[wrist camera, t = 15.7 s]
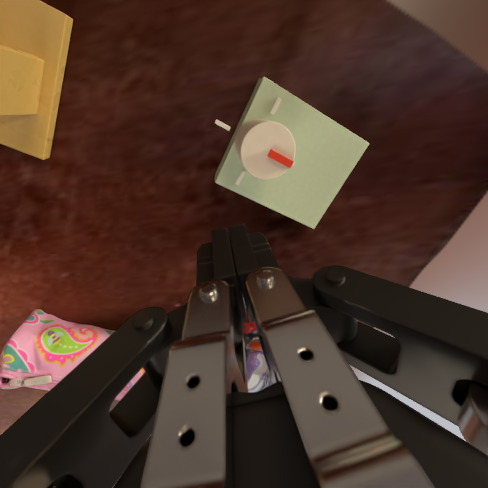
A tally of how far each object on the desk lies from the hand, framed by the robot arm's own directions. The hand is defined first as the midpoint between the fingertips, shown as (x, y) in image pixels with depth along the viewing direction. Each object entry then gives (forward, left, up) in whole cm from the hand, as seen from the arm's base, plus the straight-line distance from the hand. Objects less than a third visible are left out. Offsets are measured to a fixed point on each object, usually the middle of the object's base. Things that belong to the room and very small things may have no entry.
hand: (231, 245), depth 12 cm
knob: (-1, +4, -15) cm, 16 cm away
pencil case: (+17, -21, -19) cm, 33 cm away
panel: (+1, +6, -19) cm, 20 cm away
